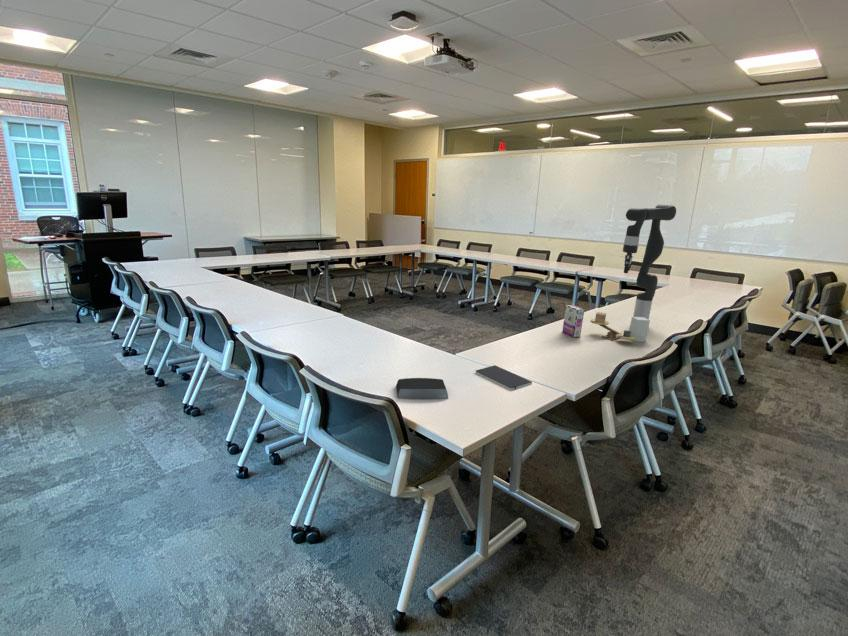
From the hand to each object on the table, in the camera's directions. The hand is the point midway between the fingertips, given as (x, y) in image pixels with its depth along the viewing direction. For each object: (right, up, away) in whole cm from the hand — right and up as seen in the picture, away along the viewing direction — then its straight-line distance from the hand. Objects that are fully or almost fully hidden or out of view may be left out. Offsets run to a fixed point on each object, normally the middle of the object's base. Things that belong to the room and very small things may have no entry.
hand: (626, 272), depth 262 cm
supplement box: (+4, -39, -4) cm, 40 cm away
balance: (-10, -38, -4) cm, 39 cm away
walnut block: (-15, -29, +1) cm, 32 cm away
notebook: (-84, -53, -69) cm, 121 cm away
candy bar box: (-32, -36, -1) cm, 49 cm away
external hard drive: (-119, -56, -86) cm, 157 cm away
